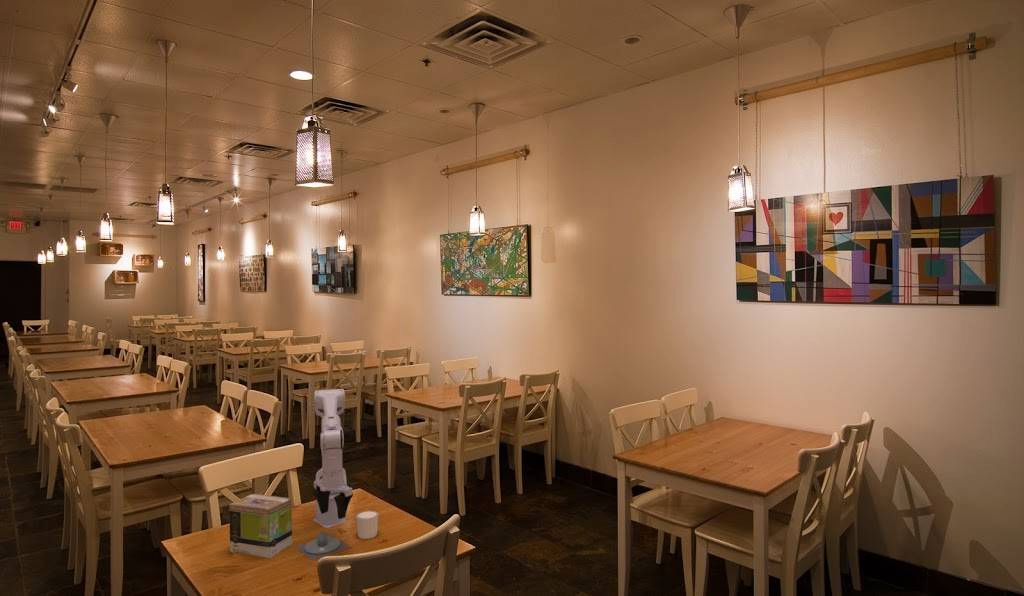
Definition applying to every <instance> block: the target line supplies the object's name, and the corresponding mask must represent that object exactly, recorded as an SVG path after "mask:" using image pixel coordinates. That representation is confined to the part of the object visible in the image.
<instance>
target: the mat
mask: <svg viewBox="0 0 1024 596" xmlns="http://www.w3.org/2000/svg"><path fill="white" fill-rule="evenodd" d="M327 537H333V538H337V537H336V536H334V535H333V534H330V535H327ZM337 539H338V540H339V541H340V546H339V548H338V549H336V550H335V551H333V552H330V553H327V554H322V555H312V554H308V553H306V552H305V545H306V544H307V543H308V542H305V543H301V544H299V545H297V546H294V549H295V550H297V551H298V552H300V553H301V554H303V555H304V556H305V557H306V558H308V559H309V560H310V561H316V560H318V559H322V558H324V557H323V556H325V557H327V556H330V555H332V554H335V553H338V552H342V551H345V550H347V549H350V548H351V546H350V545H348V544H346V543H345V542H344V541H342V540H341V539H340V538H337ZM321 557H322V558H321Z"/></svg>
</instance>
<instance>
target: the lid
mask: <svg viewBox="0 0 1024 596" xmlns="http://www.w3.org/2000/svg"><path fill="white" fill-rule="evenodd" d="M316 535H317V537H316V538H315V539H312V540H309V541H308V542H306V543H307V544H306V545H305V552H306V553H308V554H312V555H322V554H327V553H330V552H333V551H335V550H336V549H338V548H339V546H340V541H339V540H340V539H339V538H338V539H339V540H338V539H337V537H336V538H333V537H327V536H328V532H327V531H321V532H318V533H317V534H316Z"/></svg>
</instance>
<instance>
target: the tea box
mask: <svg viewBox="0 0 1024 596" xmlns="http://www.w3.org/2000/svg"><path fill="white" fill-rule="evenodd" d="M228 505H229V506H228V507H229V509H228V510H229V514H228V515H229V516H228V517H229V518H228V519H229V552H230V553H233V552H234V553H240V554H244V555H248V556H255V557H261V558H266V559H271V558H272V557H275V556H276V555H277V554H279V553H280V552H283V550H285V549H288V548H289V547H290V546H291V545H293V517H292V516H293V515H292V508H293V507H292V498H290V497H284V496H282V497H281V496H274V495H266V494H259V493H251V494H249V495H246V496H245V497H243V498H240V499H238V500H236V501H234V502H231V503H229V504H228Z"/></svg>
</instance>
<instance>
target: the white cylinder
mask: <svg viewBox="0 0 1024 596" xmlns="http://www.w3.org/2000/svg"><path fill="white" fill-rule="evenodd" d="M355 519H356V527H357V536H358V538H360V539H361V540H362V539H363V540H369V539H373V538H375V537H376V536H377V535H378V525H379V512H378V511H375V510H365V511H360V512H359V513H357V514H356V515H355Z"/></svg>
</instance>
